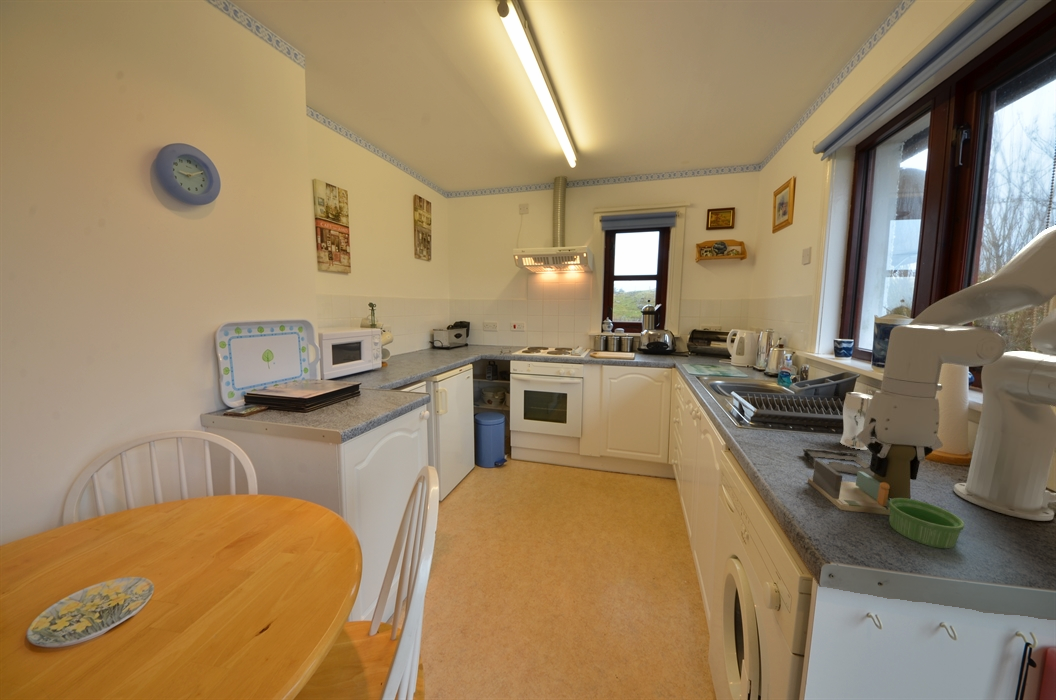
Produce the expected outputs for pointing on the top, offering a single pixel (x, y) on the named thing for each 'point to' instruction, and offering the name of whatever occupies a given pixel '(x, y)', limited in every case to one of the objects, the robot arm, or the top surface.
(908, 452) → the cork
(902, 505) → the ramekin
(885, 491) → the ball-ended orange rod
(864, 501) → the stand
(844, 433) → the beer glass
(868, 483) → the pad
